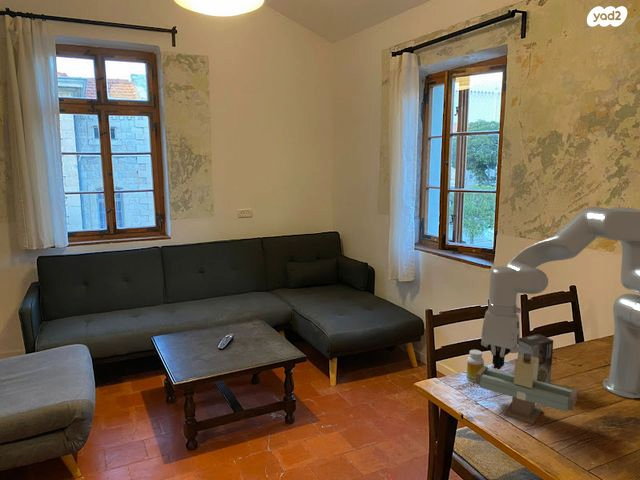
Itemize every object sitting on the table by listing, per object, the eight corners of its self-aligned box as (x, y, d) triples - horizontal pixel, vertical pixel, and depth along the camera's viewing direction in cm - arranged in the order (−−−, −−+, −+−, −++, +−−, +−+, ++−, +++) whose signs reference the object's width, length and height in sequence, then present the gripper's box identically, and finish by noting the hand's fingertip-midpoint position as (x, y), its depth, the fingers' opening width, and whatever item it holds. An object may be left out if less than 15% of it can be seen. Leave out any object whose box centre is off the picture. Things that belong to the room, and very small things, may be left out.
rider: (536, 385, 142) (539, 352, 140) (531, 393, 137) (534, 360, 135) (518, 380, 145) (521, 348, 143) (513, 388, 140) (515, 355, 138)
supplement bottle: (483, 383, 161) (485, 355, 159) (467, 381, 162) (468, 354, 160) (481, 375, 166) (483, 349, 164) (465, 374, 167) (466, 348, 165)
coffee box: (535, 378, 164) (538, 333, 161) (550, 386, 158) (554, 339, 155) (514, 383, 161) (518, 337, 158) (530, 391, 155) (533, 344, 152)
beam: (575, 420, 138) (578, 388, 136) (569, 435, 131) (572, 401, 129) (483, 393, 154) (485, 364, 152) (473, 405, 147) (475, 375, 145)
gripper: (532, 310, 140) (527, 369, 143) (480, 301, 149) (477, 356, 152) (525, 317, 134) (520, 378, 138) (472, 307, 143) (469, 365, 146)
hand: (497, 367), depth 145 cm, fingers closed
